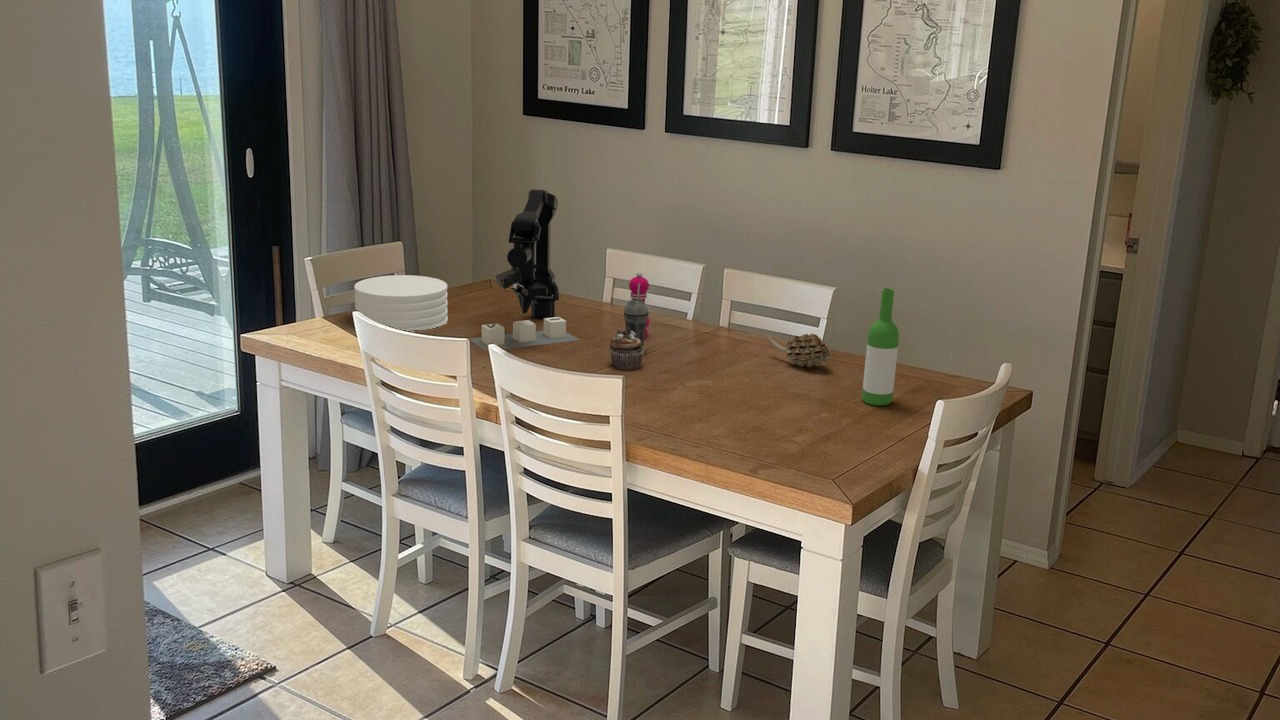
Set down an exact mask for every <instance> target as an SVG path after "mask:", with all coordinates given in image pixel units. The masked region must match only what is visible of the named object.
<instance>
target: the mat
mask: <svg viewBox="0 0 1280 720" xmlns="http://www.w3.org/2000/svg"><path fill="white" fill-rule="evenodd" d="M543 332H544V329H542V330H536V341H528V342H519V341H517V340H515V339H514V338H513V333H507V334H505V333H504V344H505V345H504V344H502V345H503V346H504V347H505V348H504V347H502V346H500V345H499V346H500V347H502V348H503V349H502V350H510V349H517V348H518V349H519V348H525V347H533V346H542V345H549V344H550V345H551V344H558V343H567V342H574V341H576V342H577V341H580V339H579V338H578V337H576V336H574V335H573V334H570V333H569V332H567V331H566V337H562V338H553V339H550V338H549V337H547V336H545V335H543ZM469 339H470V340H469V341H470V342H472V343H473V344H475V345H476V346H478V347H479V348H481V349H482V350H484V351H485V352H489V351H488V350H487V345H485V344H484V343H483V342H482V336H481V337H480V336H479V337H471V338H470V337H469ZM507 341H508V343H506V342H507Z"/></svg>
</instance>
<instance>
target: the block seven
mask: <svg viewBox="0 0 1280 720" xmlns="http://www.w3.org/2000/svg"><path fill="white" fill-rule="evenodd" d="M505 329H506V328H505V327H504V326H502V325H501V324H500V323H491V324H482V325H481V337H482V342H483V343H484V344H486V345H488V344H489V343H493V344H496V345H500V344H501V345H502V344H504V335H505V333H506V332H505ZM497 343H498V344H497Z"/></svg>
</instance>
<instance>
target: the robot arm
mask: <svg viewBox="0 0 1280 720" xmlns="http://www.w3.org/2000/svg"><path fill="white" fill-rule="evenodd" d="M557 210H558V199H557V197H556V195H554V194H552V193H549V192H548V191H546V190H544V189H536V188H535V189H534V188H533V189H530V190H529V192H528V197H527V201H526V203H525V206H524V209H523V211H522V212H520V213H517V214H516V215H515V217H514V218H513V220H512V221H511V224H510V231H509V237H508V243H509V244H513V247H512V248H511V249H510V250H509V251H508V253H507V257H506V260H507V262H508V263H509V265H510V266H511V269H508V270H505V271H503V272H501V273H499V274H497V275H495V278H496V282H497V285H498V287H499V288H501V289H503V290H507V289H509V288H510V287H511V286H513V287H511V288H510V290H511V291H512V292H514V293H515V294H516V296H517V300H518V302H519V306H520V309H521V313H523V314H527V313H528V311H529V309H531V310H530V311H531V313H530V315H529V316H530V317H532V319H535V320H544V318H553V317H556V316H555V302H556V301H559V300H560V292H559V287H558V284H557V282H556V276H555V273H554V272H553V270H552V269H551V222H552V221H553V219H554V218H555V216H556V212H557ZM530 307H531V308H530Z"/></svg>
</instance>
